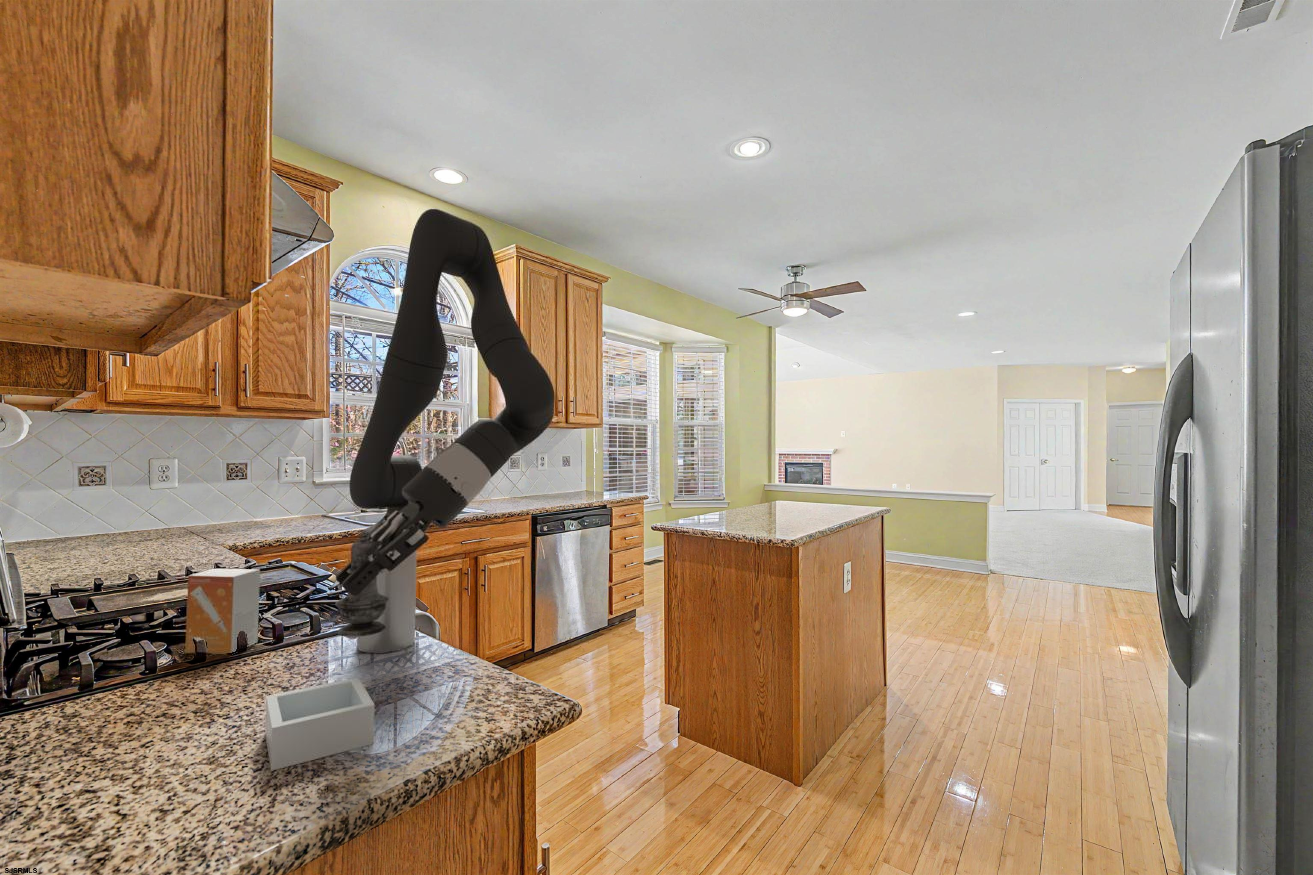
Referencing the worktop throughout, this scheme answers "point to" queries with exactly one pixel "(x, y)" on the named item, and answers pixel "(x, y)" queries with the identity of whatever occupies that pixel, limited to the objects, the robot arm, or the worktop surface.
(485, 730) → the worktop surface
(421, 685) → the worktop surface
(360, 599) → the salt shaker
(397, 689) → the worktop surface
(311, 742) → the sleeve
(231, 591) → the small box
